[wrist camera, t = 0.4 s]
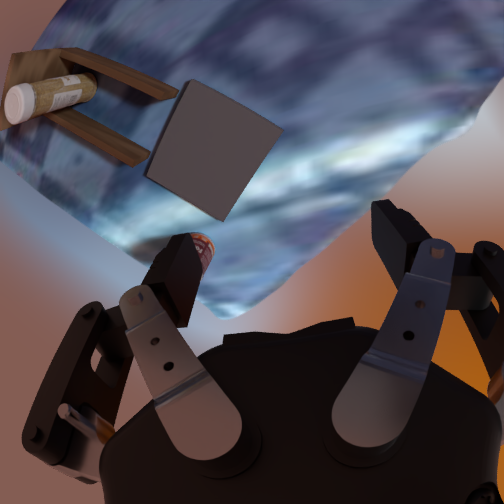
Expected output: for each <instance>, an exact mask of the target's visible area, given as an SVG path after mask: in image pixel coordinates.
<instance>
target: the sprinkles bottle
mask: <svg viewBox="0 0 504 504" xmlns="http://www.w3.org/2000/svg"><path fill="white" fill-rule="evenodd" d="M96 90H97V81H96V78H95V77H94V75H93V74H91V73H88V72H85V73H82V74H76V75H68V76H62V77H57V78H51V79H47V80H44V81H39V82H34V83H30V84H29V83H23V84H19V85H16V86H13V87H12V88H11V89H10V90H9V91H8V93H7V95H6V98H5V104H4V109H5V115H6V118H7V120H8V121H9V122H10V123H11V124H14V125H15V124H18V123H21V122H24V121H27V120H28V119H30V118H31V117H34V116H37V115H40V114H44V113H47V112H51V111H54V110H57V109H60V108H64V107H67V106H71V105H73V104H76V103H80V102H87V101H89V100H91V99H92V98H93V96H94V95H95V93H96Z"/></svg>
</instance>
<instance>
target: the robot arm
mask: <svg viewBox="0 0 504 504" xmlns="http://www.w3.org/2000/svg"><path fill="white" fill-rule="evenodd" d="M371 218H372V220H371V221H372V241H373V245H374V247H375V249H376V251H377V252H378V254H379V256H380V258H381V260H382V262H383V263H384V265H385V267H386V269H387V271H388V273H389V275H390V277H391V278H392V280H393V282H394V284H395V286H396V288H397V290H398V292H397V294H396V296H395V299H394V301H393V303H392V305H391V307H390V309H389V312H388V314H387V316H386V318H385V320H384V322H383V324H382V326H381V328H380V330H377V329H373V328H369V327H362V326H355V323H354V320H353V317H349V318H343V319H338V320H332V321H326V322H320V323H318V324H315V325H312V326H310V327H307V328H304V329H302V330H298V331H296V332H293V333H290V334H279V333H266V332H246V333H237V334H226V335H224V337H223V344H222V345H219V346H216V347H214V348H211V349H209V350H207V351H206V352H204V353H202V354H201V355H199V356H198V357H196V356H195V354H194V353H193V351H192V350H191V349H190V347H189V346H188V344H187V343H186V341H185V340H184V338H183V337H182V335H181V334H180V332H179V331H178V329H177V328H184V327H187V326H188V322H189V319H190V315H191V312H192V308H193V305H194V301H195V298H196V294H197V291H198V287H199V284H200V281H201V277H202V273H203V269H202V263H201V260H200V257H199V255H198V252H197V249H196V247H195V244H194V241H193V239H192V236H191V235H190V233H184V234H179V235H174V236H172V238H171V239H170V241H169V243H168V245H167V247H166V248H164V249H163V250H162V251H161V252H160V253H158V254H157V256H156V257H155V259H154V261H153V264H152V265H151V266H150V269H149V270H148V272H147V274H146V276H145V278H144V280H143V281H142V283H141V285H139V286H135V287H133V288H131V289H129V290H128V291H127V292H126V293H124V295H122V297H121V298H120V301H119V305H118V306H116V307H113V308H110V309H107V310H105V309H104V307H103V305H102V304H101V303H100V302H98V301H94V302H91V303H89V304H86V305H85V306H83V307H82V308H81V309H80V310H79V311H78V313H77V314H76V316H75V318H74V319H73V321H72V323H71V325H70V327H69V329H68V331H67V332H66V334H65V336H64V338H63V340H62V342H61V344H60V346H59V348H58V350H57V352H56V354H55V356H54V358H53V360H52V362H51V364H50V366H49V368H48V371H47V372H46V375H45V377H44V379H43V381H42V384H41V386H40V388H39V391H38V393H37V396H36V398H35V400H34V402H33V405H32V407H31V410H30V413H29V416H28V418H27V421H26V423H25V426H24V429H23V432H22V444H23V447H24V448H25V450H26V451H28V452H29V453H30V454H32V455H34V456H36V457H37V458H39V459H40V460H42V461H44V463H46V464H47V465H49V466H50V467H52V468H54V469H56V470H58V471H59V472H61V473H63V474H65V475H67V476H69V477H73V478H75V479H78V480H79V481H82V482H84V483H86V484H94V483H96V482H101V483H102V486H103V492H104V499H105V504H504V503H503V501H502V499H501V496H500V494H499V491H498V487H497V466H498V457H499V451H500V446H501V445H503V444H504V250H503V249H502V248H501V247H500V246H499V245H497V244H495V243H493V242H489V241H479V242H477V243H476V244H475V246H474V249H473V253H456V252H455V249H454V247H453V246H452V245H451V244H450V243H448V242H446V241H444V240H441V239H435V238H432V237H431V236H430V235H429V233H427V231H426V230H425V229H424V228H423V227H422V226H421V225H420V223H419V222H418V221H417V220H416V219H415V218H414V217H413V216H412V215H411V214H410V213H409V212H407V211H405V210H403V209H397V208H396V206H395V205H394V204H393V203H392V202H391V201H390V200H389V199H386V200H379V201H373V202H372V204H371ZM493 295H494V297H495V298H496V300H497V302H498V304H499V313H498V311H497V310H496V308H495V306H494V305H493V303H492V301H491V299H492V297H493ZM445 310H459V311H460V313H461V315H462V317H463V319H464V321H465V323H466V325H467V327H468V329H469V331H470V333H471V335H472V337H473V339H474V341H475V344H476V346H477V348H478V350H479V353H480V355H481V357H482V360H483V362H484V364H485V367H486V370H487V372H488V375H489V377H490V382H489V384H488V389H487V394H488V397H486V396H485V395H484V394H482V393H481V392H479V391H478V390H476V389H474V388H473V387H471V386H470V385H468V384H466V383H465V382H463V381H462V380H460V379H459V378H457V377H455V376H454V375H452V374H451V373H449V372H447V371H446V370H444V369H443V368H441V367H439V366H438V365H437V364H435V363H433V362H432V361H431V359H432V356H433V353H434V350H435V347H436V344H437V340H438V337H439V333H440V330H441V326H442V322H443V319H444V315H445ZM95 348H96V349H97V350H98V352H99V353H100V354H101V355H102V357H101V358H100V361H99V364H98V366H97V369H96V371H95V372H94V371H93V369H92V367H91V357H92V354H93V352H94V350H95ZM134 356H135V359H136V361H137V363H138V366H139V368H140V370H141V373H142V375H143V377H144V380H145V381H146V384H147V386H148V388H149V391H150V393H151V395H152V396H153V399H152V400H151V401H150V402H149V403H148V404H146V405H145V406H144V407H143V408H142V409H141V410H140V411H139V412H138V413H137V414H136V415H134V416H133V418H131V419H130V420H129V421H128V422H127V423H126V424H125V425H123V426H122V427H121V428H120V429H119V430H118V431H117V432H115V429H114V424H115V420H116V416H117V413H118V409H119V405H120V401H121V398H122V394H123V391H124V387H125V383H126V380H127V377H128V373H129V370H130V367H131V364H132V361H133V357H134Z"/></svg>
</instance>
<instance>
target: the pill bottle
mask: <svg viewBox="0 0 504 504" xmlns="http://www.w3.org/2000/svg"><path fill="white" fill-rule="evenodd" d="M190 235H191V236H192V239H193V241H194V244H195V247H196V249H197V252H198V255H199V257H200V260H201V263H202V269H203V273H202V277H201V280H202V278H203V275H204V273H205V271H206V270H207V268H208V266H209V264H210V262H211V260H212V258H213V256H214V253H215V246H214V243H213V242H212V240H211V239H210V238H209V237H208V236H206V235H204V234H201V233H192V234H190Z"/></svg>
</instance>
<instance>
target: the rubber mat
mask: <svg viewBox="0 0 504 504" xmlns="http://www.w3.org/2000/svg"><path fill="white" fill-rule="evenodd" d="M283 131H284V130H283V129H281V128H280V127H278V126H277V125H275V124H274V123H272V122H270V121H269V120H267V119H265V118H264V117H262V116H261V115H259V114H257V113H255V112H254V111H252V110H250V109H249V108H247V107H245V106H243V105H242V104H240V103H238V102H236V101H235V100H233V99H231V98H229V97H227V96H225V95H224V94H222V93H220V92H218V91H216V90H214V89H212V88H210V87H208V86H206V85H204V84H203V83H201V82H198V81H196V80H194V79H191V81H190V83H189V85H188V87H187V89H186V91H185V92H184V94H183V96H182V98H181V100H180V102H179V104H178V106H177V108H176V110H175V112H174V114H173V116H172V118H171V120H170V123H169V125H168V127H167V129H166V131H165V133H164V135H163V138H162V140H161V142H160V144H159V147H158V149H157V151H156V154H155V156H154V158H153V161H152V163H151V166H150V168H149V171H148V173H147V177H149V178H151V179H152V180H154V181H156V182H157V183H159V184H161V185H162V186H164V187H166V188H167V189H169V190H171V191H172V192H174V193H176V194H177V195H179V196H181V197H182V198H184V199H186V200H187V201H189V202H191V203H192V204H194V205H196V206H197V207H199V208H201V209H202V210H204V211H206V212H207V213H209V214H210V215H212V216H214V217H215V218H217V219H219V220H220V221H222V222H224V220H225V218H226V217H227V215H228V214H229V212H230V211H231V209H232V207H233V206H234V204H235V203H236V201H237V200H238V198H239V197H240V195H241V194H242V192H243V190H244V189H245V187H246V186H247V184H248V183H249V181H250V180H251V178H252V177H253V175H254V174H255V172H256V171H257V169H258V168H259V166H260V165H261V163H262V162H263V160H264V159H265V157H266V156H267V154H268V153H269V151H270V150H271V148H272V147H273V145H274V144H275V143H276V141H277V140H278V138H279V137H280V135H281V134H282V132H283Z"/></svg>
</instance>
